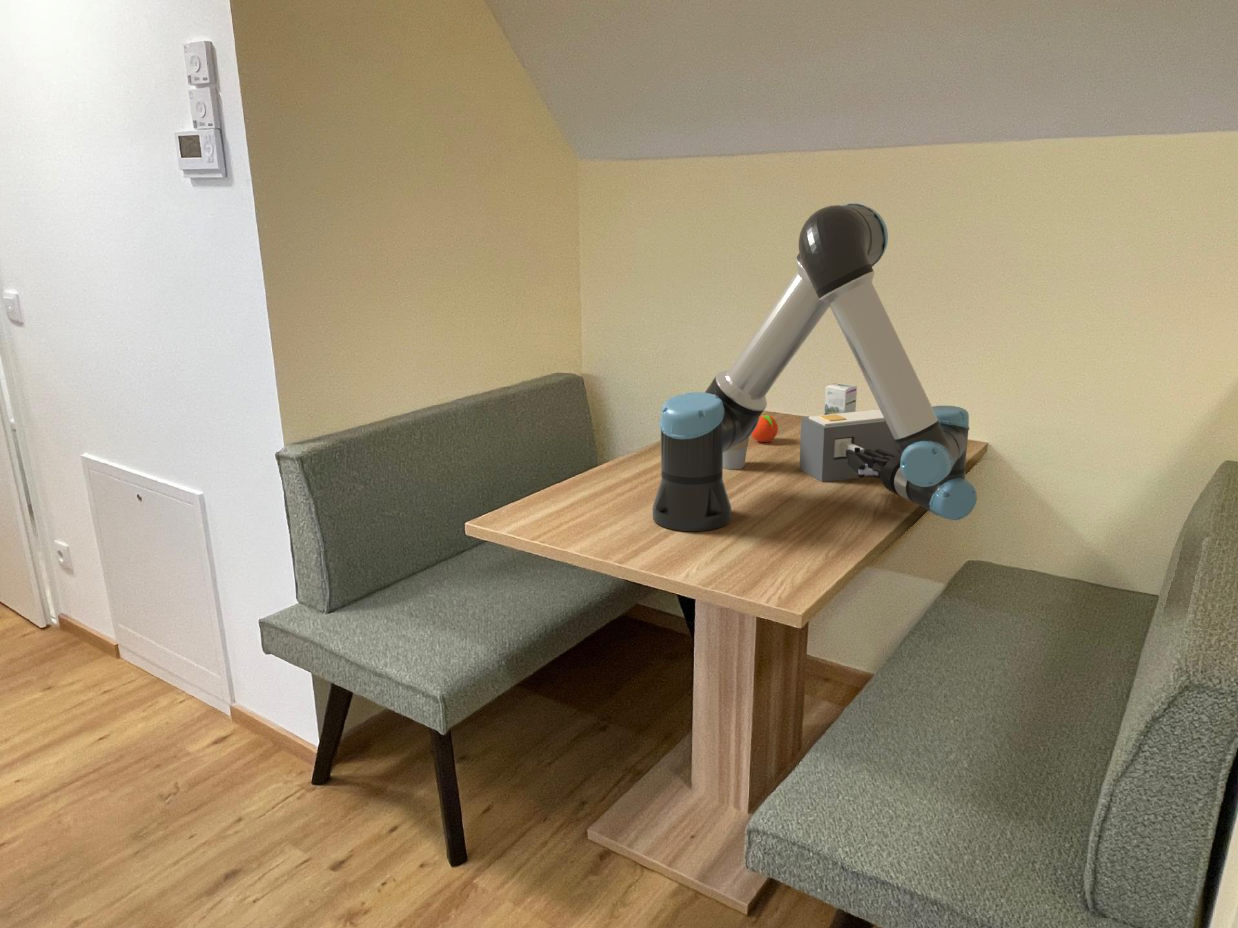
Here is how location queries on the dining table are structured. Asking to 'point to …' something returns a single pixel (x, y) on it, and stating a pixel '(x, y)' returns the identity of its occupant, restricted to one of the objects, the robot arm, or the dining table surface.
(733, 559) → the dining table surface
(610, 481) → the dining table surface
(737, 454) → the coffee cup
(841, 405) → the syrup box
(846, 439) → the left button
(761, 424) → the clementine
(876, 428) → the console
